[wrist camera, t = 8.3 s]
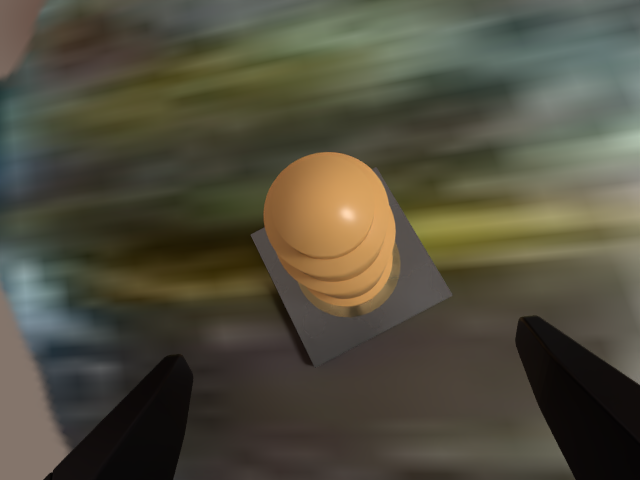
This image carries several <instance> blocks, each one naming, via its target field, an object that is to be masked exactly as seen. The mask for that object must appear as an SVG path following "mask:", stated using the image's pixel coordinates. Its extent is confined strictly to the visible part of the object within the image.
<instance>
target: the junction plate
mask: <svg viewBox="0 0 640 480" xmlns="http://www.w3.org/2000/svg"><path fill="white" fill-rule="evenodd" d="M372 171H373V172H374V173H375V174H376V175H377V176H378V178H379V179H380V181H381V182H382V184H383V186H384V188H385V191H386V194H387V197H388V202H389V206H390V208H391V210H392V213H393V216H394V221H395V229H396V233H395V243H394V247H393V250H392V256H393V262H392V269H391V273H390V276H389V278H388V280H387V282H386V284H385V285H384V287H383V288H382V289H381V291H380V292H379V293H378V294H377V295H376V296H375V297H374V298H373V299H371V300H369V301H368V302H366V303H364V304H361V305H358V306H353V307H342V306H336V305H332V304H329V303H326V302H324V301H322V300H320V299H319V298H317V297H316V296H314V295H313V294H312V293H311V292H310V291H309V290H308V288H307V287H306V286H304V285H302V284H301V283H299V282H298V281H296V280H295V279H294V278H293V277H292V276H291V275H290V274H289V273H288V272H287V271H286V270H285V268H284V267H283V265H282V264H281V262H280V260H279V258H278V256H277V253H276V251H275V249H274V248H273V246H272V245H271V243H270V241H269V239H268V236H267V233H266V230H265V227H264V228H262V229H260V230H259V231H257V232H255V233H253V234H251V237H252V239H253V241H254V243H255V245H256V247H257V249H258V251H259V253H260V255H261V258H262V260H263V262H264V264H265V266H266V268H267V270H268V272H269V274H270V276H271V278H272V280H273V282H274V284H275V286H276V288H277V291H278V293H279V295H280V297H281V299H282V301H283V303H284V305H285V307H286V309H287V311H288V313H289V315H290V317H291V319H292V322H293V324H294V326H295V328H296V330H297V332H298V334H299V336H300V338H301V340H302V342H303V344H304V346H305V348H306V350H307V353H308V355H309V357H310V359H311V361H312V363H313V365H314V367H315V368H316V367H318V366H320V365H322V364H324V363H325V362H327V361H329V360H331V359H333V358H335V357H337V356H339V355H341V354H343V353H344V352H346V351H348V350H350V349H352V348H354V347H356V346H358V345H360V344H361V343H363V342H365V341H367V340H369V339H371V338H373V337H375V336H377V335H378V334H380V333H382V332H384V331H386V330H388V329H390V328H392V327H394V326H396V325H397V324H399V323H401V322H403V321H405V320H407V319H409V318H411V317H413V316H414V315H416V314H418V313H420V312H422V311H424V310H426V309H428V308H430V307H432V306H433V305H435V304H437V303H439V302H441V301H443V300H445V299H447V298H449V297H450V296H452V293H451V292H450V290H449V288H448V287H447V285H446V283H445V282H444V280H443V278H442V276H441V275H440V273H439V271H438V270H437V268H436V266H435V265H434V263H433V261H432V260H431V258H430V256H429V255H428V253H427V251H426V250H425V248H424V246H423V245H422V243H421V241H420V240H419V238H418V236H417V235H416V233H415V231H414V230H413V228H412V226H411V225H410V223H409V221H408V220H407V218H406V216H405V215H404V213H403V211H402V210H401V208H400V206H399V205H398V203H397V201H396V199H395V198H394V196H393V194H392V193H391V191H390V189H389V188H388V186H387V184H386V183H385V181H384V179H383V178H382V176H381V174H380V173H379V171H378V169H377V168H374V169H372Z"/></svg>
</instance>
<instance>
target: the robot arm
mask: <svg viewBox="0 0 640 480" xmlns="http://www.w3.org/2000/svg"><path fill="white" fill-rule="evenodd" d="M515 342H516V347H517V350H518V353H519V355H520V358H521V361H522V363H523V366H524V369H525V371H526V374H527V377H528V379H529V382H530V385H531V387H532V390H533V393H534V395H535V398H536V400H537V403H538V405H539V408H540V410H541V412H542V414H543V416H544V418H545V420H546V422H547V424H548V426H549V428H550V430H551V432H552V434H553V436H554V438H555V440H556V442H557V444H558V446H559V448H560V450H561V452H562V453H563V455H564V457H565V459H566V461H567V463H568V465H569V467H570V469H571V471H572V473H573V475H574V477H575V479H576V480H640V385H639V384H638V383H636V382H635V381H633V380H632V379H630V378H629V377H627V376H626V375H624V374H623V373H622V372H620V371H619V370H617V369H616V368H614V367H613V366H611V365H610V364H608V363H607V362H605V361H604V360H602V359H601V358H599V357H598V356H597V355H595V354H594V353H592V352H591V351H589V350H588V349H586V348H585V347H583V346H582V345H580V344H579V343H577V342H576V341H574V340H573V339H572V338H570V337H569V336H567V335H566V334H564V333H563V332H561V331H560V330H558V329H557V328H555V327H554V326H552V325H551V324H549V323H548V322H547V321H545V320H544V319H542V318H541V317H539V316H536V315H533V316H524V317H520V318H519V320H518V326H517V332H516V338H515ZM192 385H193V374H192V371H191V369H190V367H189V366H188V364H187V362H186V360H185V358H184V357H183V356H182V355H181V354H176V355H168V356H166V357H165V358H163V359H162V360H161V361H160V362H159V363H158V364H157V365H156V367H155V368H154V369H153V370H152V371H151V372H150V373H149V374H148V375H147V376H146V377H145V378H144V379H143V380H142V381H141V382H140V383H139V384H138V385H137V386H136V387H135V388H134V389H133V390H132V391H131V392H130V393H129V394H128V395H127V396H126V397H125V398H124V399H123V400H122V401H121V402H120V403H119V404H118V405H117V406H116V407H115V408H114V409H113V410H112V411H111V412H110V413H109V414H108V415H107V416H106V417H105V418H104V419H103V420H102V421H101V422H100V423H99V424H98V425H97V426H96V427H95V428H94V429H93V430H92V431H91V432H90V433H89V434H88V435H87V436H86V437H85V438H84V439H83V440H82V441H81V442H80V443H79V444H78V445H77V446H76V447H75V448H74V449H73V450H72V451H71V452H70V453H69V454H68V455H67V456H66V457H65V458H64V459H63V460H62V461H61V463H60V464H59V465H58V466H57V467H56V468H55V469H54V470H53V472H52V473H50V474H48V476H46V478H45V479H44V480H173V478H174V474H175V470H176V466H177V463H178V459H179V455H180V451H181V447H182V443H183V439H184V435H185V429H186V424H187V417H188V411H189V404H190V398H191V391H192Z"/></svg>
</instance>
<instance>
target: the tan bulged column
mask: <svg viewBox="0 0 640 480" xmlns="http://www.w3.org/2000/svg"><path fill="white" fill-rule="evenodd" d="M264 225H265V230H266V233H267V236H268V239H269V241H270V243H271V245H272V246H273V248H274V249H275V251H276V253H277V256H278V258H279V260H280V262H281V264H282V265H283V267H284V268H285V270H286V271H287V272H288V273H289V274H290V275H291V276H292V277H293V278H294V279H295V280H296V281H298V282H299V283H301V284H302V285H304V286H306V287H307V288H308V290H309V291H310V292H311V293H312V294H313V295H314V296H316V297H317V298H319V299H320V300H322V301H324V302H326V303H329V304H332V305H336V306H342V307H353V306H358V305H361V304H364V303H366V302H368V301H369V300H371V299H373V298H374V297H375V296H376V295H377V294H378V293H379V292H380V291H381V289H382V288H383V287H384V285H385V284H386V282H387V280H388V278H389V276H390V273H391V269H392V262H393V256H392V250H393V247H394V243H395V233H396V229H395V221H394V216H393V213H392V210H391V208H390V206H389V202H388V197H387V194H386V191H385V188H384V186H383V184H382V182H381V181H380V179H379V178H378V176H377V175H376V174H375V173H374V172H373V171H372V169H371V168H369V167H368V166H367V165H366V164H364V163H363V162H361V161H359V160H358V159H356V158H353V157H351V156H348V155H345V154H341V153H335V152H323V153H316V154H311V155H308V156H305V157H303V158H301V159H299V160H296V161H295V162H293V163H292V164H290V165H289V166H288V167H286V168H285V169H284V170H283V171H282V172H281V173H280V174H279V175H278V177H277V178H276V179H275V181H274V182H273V184H272V186H271V187H270V189H269V192H268V194H267V197H266V201H265V205H264Z"/></svg>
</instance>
